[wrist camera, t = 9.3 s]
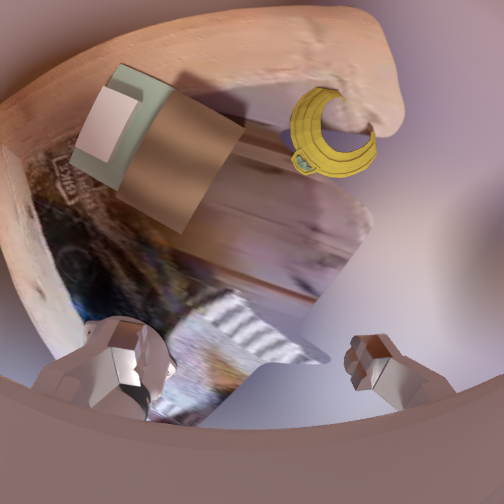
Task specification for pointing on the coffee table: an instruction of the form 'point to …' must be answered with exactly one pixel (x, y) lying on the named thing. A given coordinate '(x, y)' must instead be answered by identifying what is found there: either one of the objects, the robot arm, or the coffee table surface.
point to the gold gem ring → (315, 147)
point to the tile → (107, 124)
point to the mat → (152, 102)
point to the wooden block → (178, 160)
